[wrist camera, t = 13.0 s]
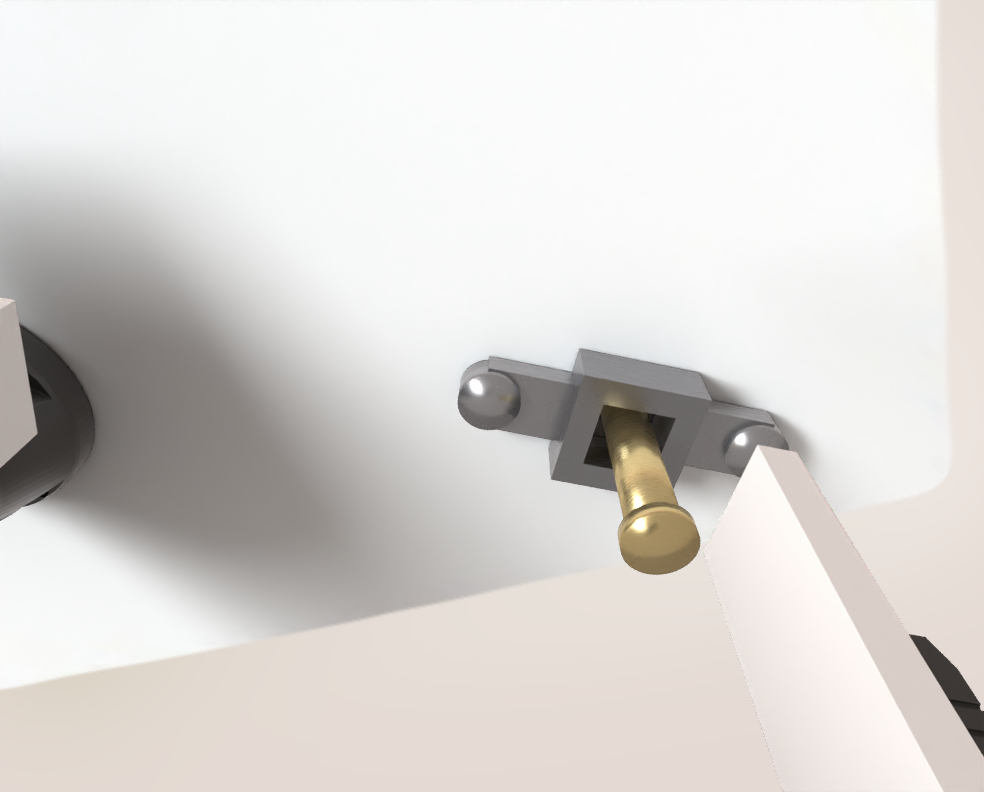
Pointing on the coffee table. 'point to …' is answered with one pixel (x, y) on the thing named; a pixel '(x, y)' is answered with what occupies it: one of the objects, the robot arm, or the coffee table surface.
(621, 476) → the pin
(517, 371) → the chain ends
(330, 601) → the coffee table surface
